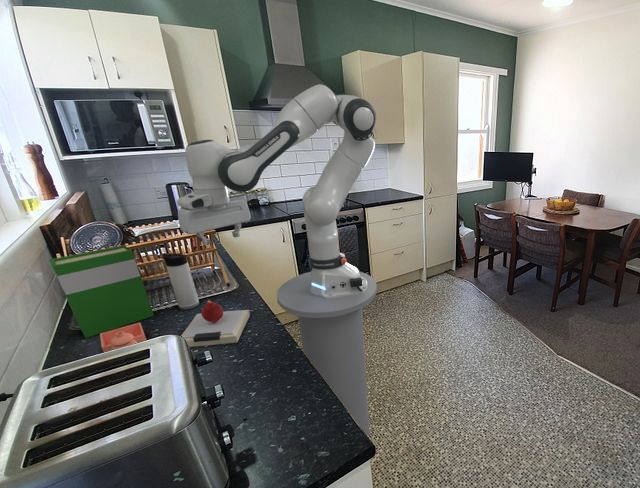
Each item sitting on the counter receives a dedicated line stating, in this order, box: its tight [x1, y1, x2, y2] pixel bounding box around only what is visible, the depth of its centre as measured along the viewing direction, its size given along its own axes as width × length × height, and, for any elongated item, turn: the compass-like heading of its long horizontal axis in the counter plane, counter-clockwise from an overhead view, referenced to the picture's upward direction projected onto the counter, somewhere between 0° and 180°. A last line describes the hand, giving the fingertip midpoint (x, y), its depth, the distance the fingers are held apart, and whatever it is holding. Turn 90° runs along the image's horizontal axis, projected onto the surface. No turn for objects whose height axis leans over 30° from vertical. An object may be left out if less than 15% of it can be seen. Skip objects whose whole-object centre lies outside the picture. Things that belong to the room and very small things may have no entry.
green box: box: [48, 244, 155, 339], centre depth 110 cm, size 18×7×24 cm, turn 141°
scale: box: [180, 309, 251, 348], centre depth 111 cm, size 16×16×3 cm
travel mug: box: [162, 253, 200, 311], centre depth 121 cm, size 6×7×20 cm
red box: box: [99, 321, 147, 353], centre depth 98 cm, size 18×10×10 cm, turn 43°
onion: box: [201, 300, 224, 323], centre depth 109 cm, size 6×6×8 cm
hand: (222, 240), depth 110 cm, fingers open, 8 cm apart
